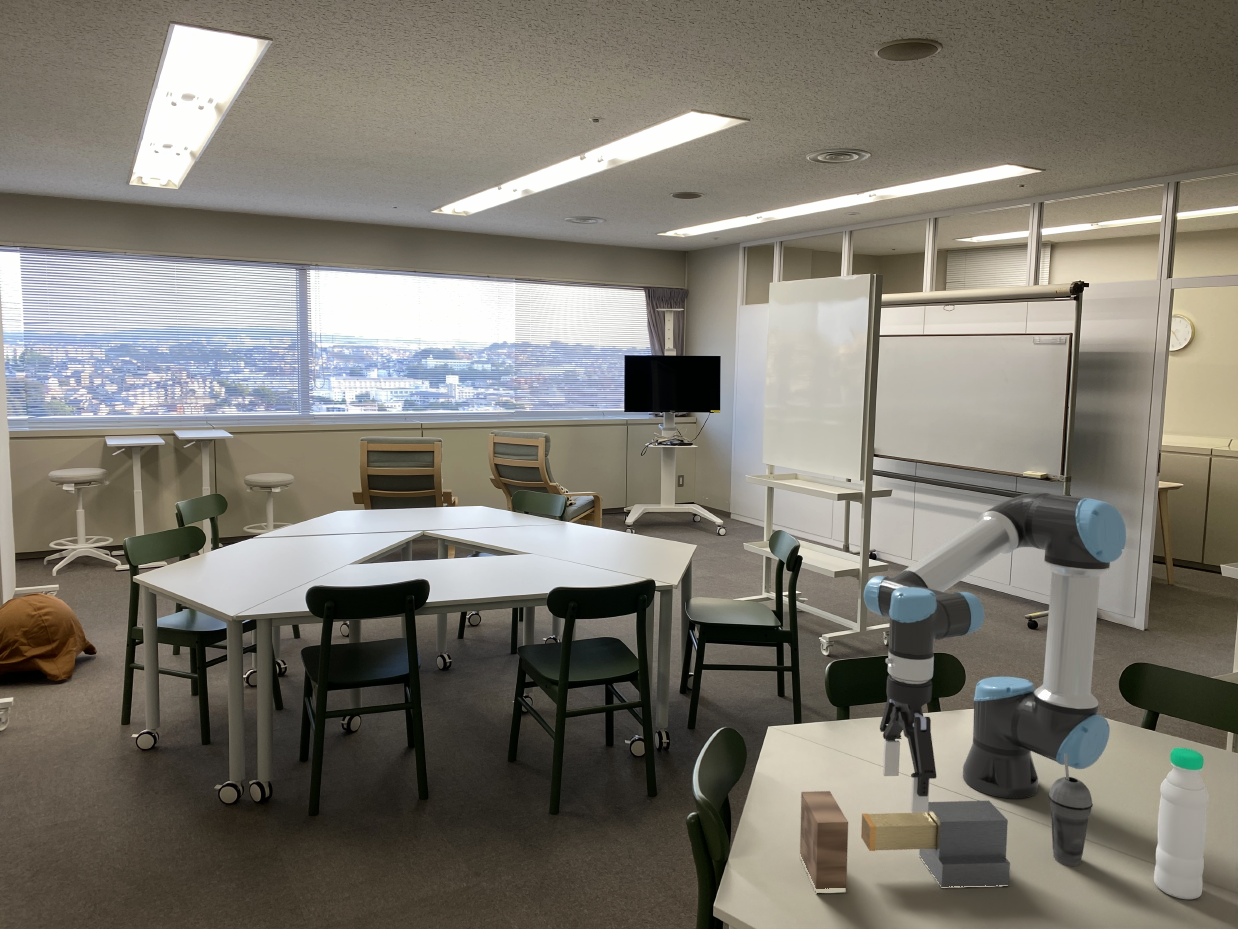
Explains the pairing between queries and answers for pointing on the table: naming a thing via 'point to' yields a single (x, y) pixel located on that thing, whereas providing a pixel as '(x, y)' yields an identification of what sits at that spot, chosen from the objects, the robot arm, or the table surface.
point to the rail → (899, 831)
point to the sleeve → (968, 844)
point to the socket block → (824, 839)
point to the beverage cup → (1069, 817)
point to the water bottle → (1182, 827)
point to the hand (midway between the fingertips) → (904, 792)
